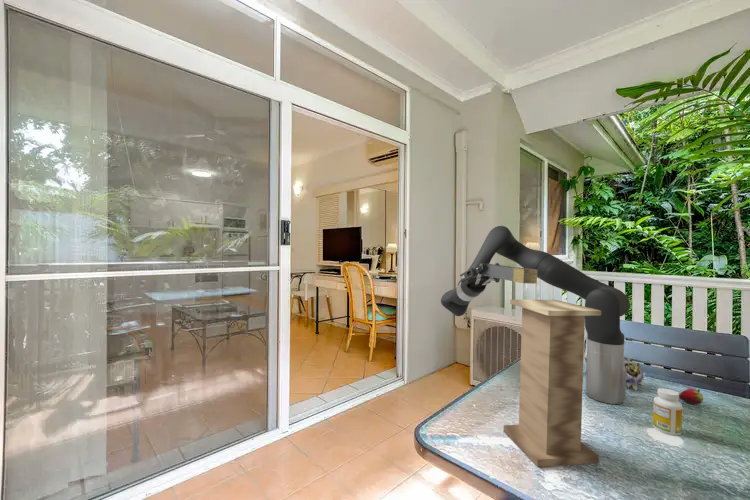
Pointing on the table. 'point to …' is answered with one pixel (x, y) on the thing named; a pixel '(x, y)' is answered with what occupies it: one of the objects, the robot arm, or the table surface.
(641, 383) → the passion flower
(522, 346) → the walnut stand
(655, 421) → the supplement bottle
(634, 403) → the table surface
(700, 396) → the fruit
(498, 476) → the table surface
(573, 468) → the table surface
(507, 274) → the steel block
